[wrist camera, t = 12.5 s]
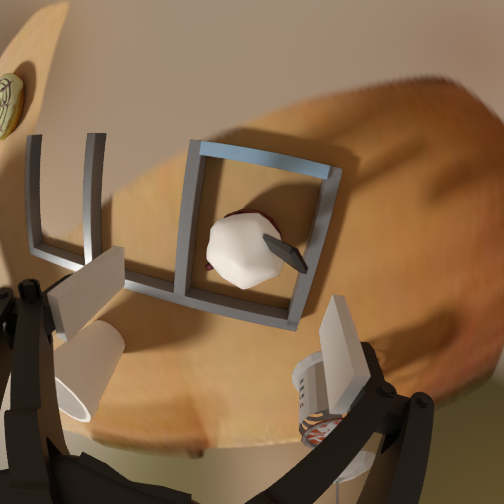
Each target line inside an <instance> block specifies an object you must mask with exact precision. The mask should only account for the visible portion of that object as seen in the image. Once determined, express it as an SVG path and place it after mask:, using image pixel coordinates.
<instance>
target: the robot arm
mask: <svg viewBox="0 0 504 504" xmlns="http://www.w3.org/2000/svg"><path fill="white" fill-rule="evenodd" d="M124 286H125V271H124V248H123V247H119V246H113V247H112V248H110V249H108V250H107V251H105V252H104V253H103V254H101V255H100V256H98V257H97V258H95V259H94V260H92V261H91V262H89V263H88V264H86V265H85V266H84V267H82V268H81V269H79V270H78V271H76V272H75V273H74V274H73V273H72V274H69V275H66V276H64V277H63V278H61V279H60V280H59V281H57V282H56V283H55V284H53V285H52V286H50V287H49V288H48V289H46V290H45V291H44V292H42V293H41V289H40V284H39V281H38V280H36V279H26V280H23V281H22V282H20V283H19V284H18V290H19V294H20V298H21V299H20V298H15V297H14V294H13V290H11V289H9V288H3V289H0V409H1V405H2V401H3V397H4V393H5V389H6V386H7V382H8V379H9V376H10V372H11V391H10V392H11V393H10V396H11V397H10V403H11V405H10V406H11V407H10V410H6V411H5V413H4V426H5V440H6V450H7V459H8V466H9V469H5V470H0V504H199V503H198V502H196V501H194V500H192V499H191V494H188V493H184V492H181V491H177V490H174V489H170V488H167V487H164V486H158V485H151V484H143V483H137V482H132V481H130V480H128V479H127V478H125V477H124V476H122V475H121V474H119V473H118V472H117V471H115V470H114V469H113V468H111V467H110V466H109V465H107V464H106V463H104V462H102V461H100V460H98V459H96V458H94V457H92V456H90V455H88V454H86V453H84V452H82V454H81V455H80V456H76V455H70V453H69V451H68V449H67V446H66V444H65V440H64V435H63V430H62V425H61V420H60V414H59V407H58V400H57V392H56V383H55V372H54V356H53V336H52V332H53V331H54V330H55V329H56V333H57V336H58V338H59V339H61V340H63V341H65V342H67V343H68V342H69V341H70V340H71V339H72V338H73V337H74V336H75V335H76V334H77V333H78V332H79V331H80V330H81V329H82V328H83V327H84V326H85V325H86V324H87V322H88V321H89V320H90V319H91V318H92V317H93V316H94V315H95V314H96V313H97V312H98V311H99V310H100V309H101V308H102V307H103V306H104V305H105V304H106V303H107V302H108V301H109V300H110V299H111V298H112V297H113V296H114V295H115V294H117V293H118V292H119V291H120V290H121V289H122V288H123V287H124ZM319 336H320V342H321V349H322V356H323V363H324V371H325V378H326V386H327V395H328V404H329V413H330V414H342V415H345V413H346V412H347V411H348V409H349V408H350V412H349V413H348V414H347V415H346V416H345V417H344V418H343V420H342V421H341V422H340V423H339V424H338V425H337V426H336V427H335V428H334V429H333V430H332V431H331V432H330V433H329V434H328V435H327V436H326V437H325V438H324V439H323V440H322V441H321V442H320V443H319V444H318V445H317V446H316V447H315V448H314V449H313V450H312V451H311V452H310V453H309V454H308V455H307V456H306V457H305V458H304V459H302V460H301V461H300V462H299V463H298V464H297V465H296V466H295V467H293V468H292V469H291V470H290V471H289V472H288V473H286V474H285V475H284V476H283V477H281V478H280V479H279V480H278V481H277V482H275V483H274V484H273V485H272V486H270V487H269V488H268V489H266V490H265V491H263V492H261V493H259V494H258V495H256V496H255V497H253V498H252V499H250V500H249V501H248V502H246V503H245V504H313V503H314V502H315V501H316V500H317V499H318V498H319V497H320V496H321V495H322V494H323V493H324V492H325V491H326V490H327V489H328V488H329V486H330V485H331V484H332V483H333V482H334V481H335V480H336V479H337V478H338V477H339V476H340V474H341V473H342V472H343V471H344V470H345V469H346V468H347V466H348V465H349V464H350V463H351V461H352V460H353V459H354V458H355V457H356V455H357V454H358V453H359V451H360V450H361V449H362V448H363V446H364V445H365V444H366V442H367V441H368V440H369V438H370V437H371V435H372V434H373V433H374V432H377V433H381V434H382V438H381V441H380V444H379V447H378V450H377V453H376V456H375V459H374V462H373V464H372V467H371V470H370V473H369V475H368V478H367V480H366V483H365V485H364V487H363V490H362V492H361V495H360V496H359V499H358V501H357V503H356V504H418V502H419V499H420V495H421V491H422V487H423V482H424V478H425V473H426V468H427V462H428V457H429V450H430V443H431V436H432V427H433V414H434V402H433V400H432V398H431V397H430V396H429V395H427V394H425V393H423V392H416V393H414V394H413V395H412V396H411V398H408V397H405V396H401V395H398V394H397V392H396V389H395V388H394V386H392V385H391V384H390V383H388V382H386V381H385V379H384V376H383V373H382V370H381V368H380V365H379V363H378V359H377V358H376V354H375V351H374V349H373V348H372V346H371V345H370V344H369V343H366V342H360V340H359V337H358V334H357V331H356V328H355V325H354V322H353V319H352V317H351V314H350V311H349V308H348V305H347V303H346V300H345V297H344V296H340V295H335V294H332V297H331V300H330V302H329V305H328V308H327V310H326V313H325V316H324V318H323V321H322V324H321V326H320V329H319Z"/></svg>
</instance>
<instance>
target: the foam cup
mask: <svg viewBox="0 0 504 504" xmlns="http://www.w3.org/2000/svg"><path fill="white" fill-rule="evenodd" d="M124 349H125V344H124V340H123V338H122V336H121V335H120V333H119V332H118V331H117V330H116V329H115V328H114V327H113V326H112V325H111V324H109V323H107V322H105V321H102V320H96V321H94V322H93V323H91V324H90V325H88V326H87V327H85V328H84V329H83V330H81V331H80V332H79V333H77V334H76V335H75V336H74V337H73V338H72V339H71V340H70V341H69V342H68V343H67V342H65V343H64V344H62V345H61V346H60V347H58V348H57V349H56V350H54V351H53V356H54V372H55V383H56V392H57V400H58V407H59V409H60V410H62V411H63V412H64V413H66V414H67V415H69V416H71V417H72V418H74V419H77V420H79V421H81V422H90V421H91V419H92V418H93V416H94V414H95V413H96V411H97V410H98V407H99V402H100V400H101V397H102V395H103V393H104V391H105V389H106V387H107V384H108V382H109V380H110V378H111V376H112V374H113V372H114V370H115V368H116V366H117V364H118V362H119V360H120V358H121V356H122V353H123V351H124Z"/></svg>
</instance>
